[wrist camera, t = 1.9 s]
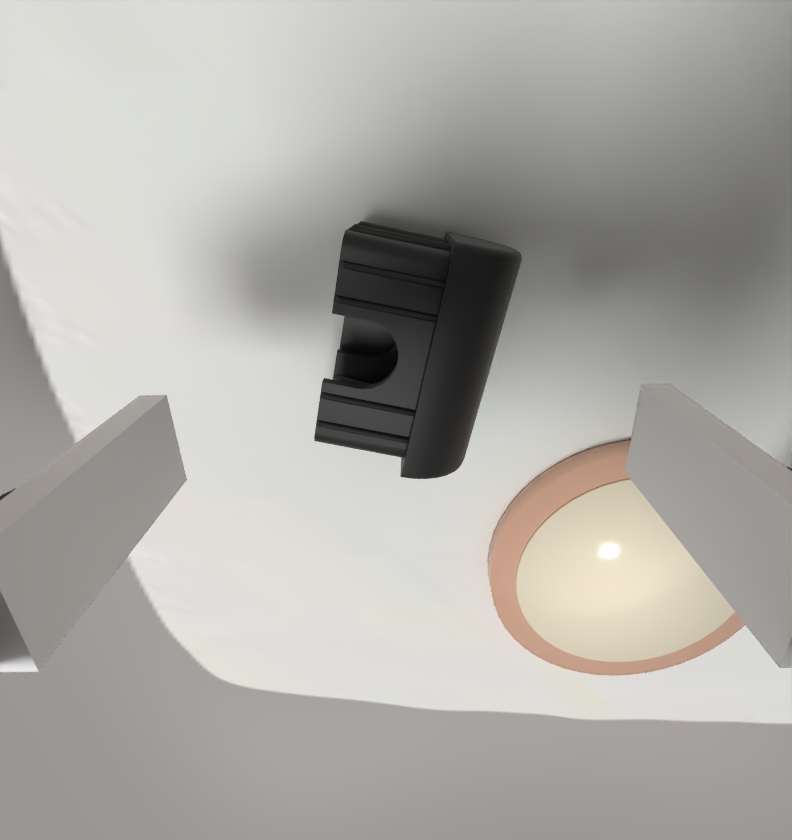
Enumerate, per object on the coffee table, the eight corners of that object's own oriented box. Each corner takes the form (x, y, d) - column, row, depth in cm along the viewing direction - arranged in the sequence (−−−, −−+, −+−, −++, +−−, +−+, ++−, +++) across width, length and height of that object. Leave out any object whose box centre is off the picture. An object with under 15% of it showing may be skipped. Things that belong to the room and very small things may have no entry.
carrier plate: (803, 436, 27) (827, 451, 26) (728, 657, 34) (744, 678, 33) (494, 440, 28) (499, 455, 26) (482, 655, 35) (485, 677, 33)
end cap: (456, 427, 28) (468, 492, 22) (332, 403, 28) (309, 462, 21) (506, 243, 24) (539, 259, 18) (361, 212, 23) (343, 217, 17)
